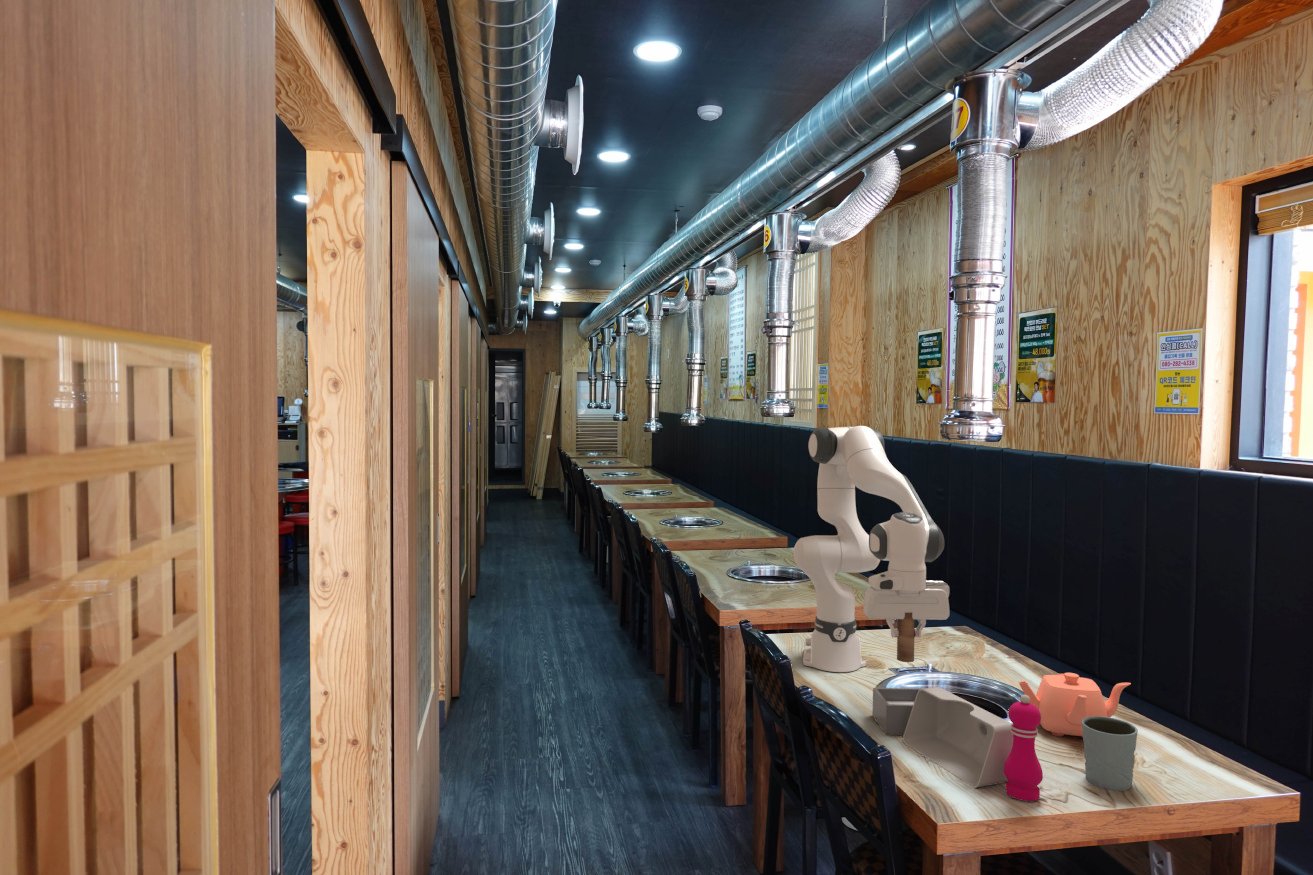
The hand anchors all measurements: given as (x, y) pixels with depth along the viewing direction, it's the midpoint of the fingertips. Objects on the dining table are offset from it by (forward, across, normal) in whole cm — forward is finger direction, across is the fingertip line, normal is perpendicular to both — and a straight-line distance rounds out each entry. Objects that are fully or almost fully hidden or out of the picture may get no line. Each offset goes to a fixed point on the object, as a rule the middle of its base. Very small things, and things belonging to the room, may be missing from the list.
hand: (905, 636), depth 200 cm
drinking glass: (+22, -34, +29) cm, 50 cm away
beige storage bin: (+22, -8, +19) cm, 30 cm away
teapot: (+22, -40, +3) cm, 46 cm away
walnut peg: (+6, 0, 0) cm, 6 cm away
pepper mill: (+22, -13, +36) cm, 44 cm away
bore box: (+22, 0, 0) cm, 22 cm away
